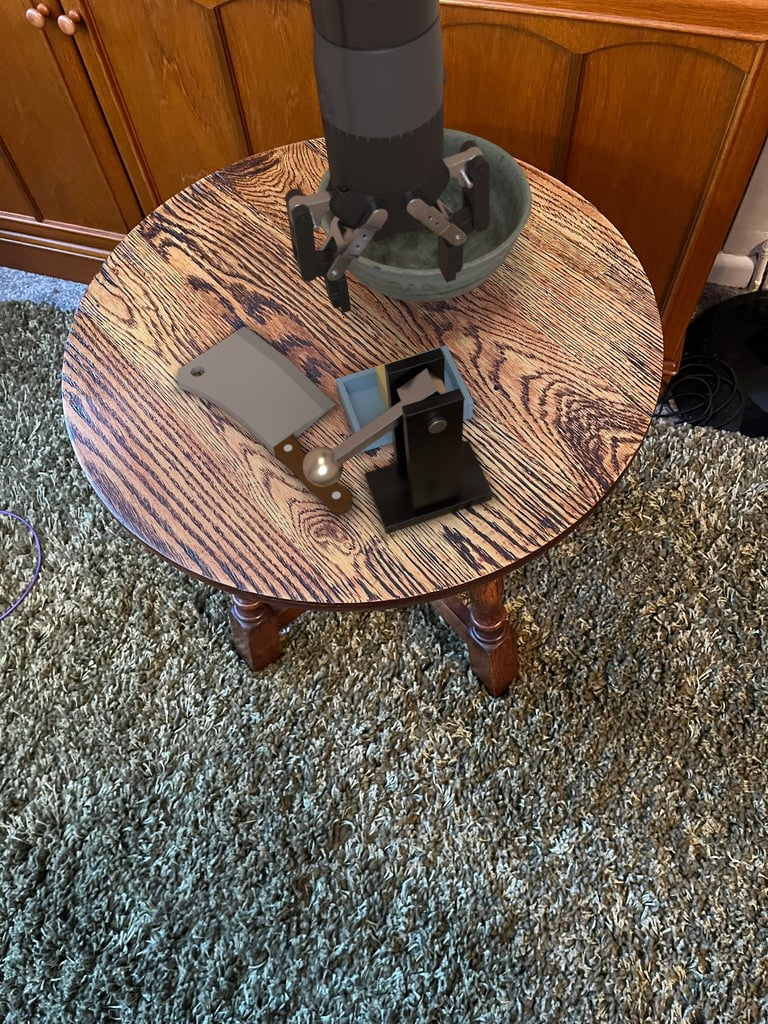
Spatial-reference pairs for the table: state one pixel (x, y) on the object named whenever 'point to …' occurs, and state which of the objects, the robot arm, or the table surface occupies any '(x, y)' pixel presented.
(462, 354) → the table surface
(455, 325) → the table surface
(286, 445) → the kitchen cleaver
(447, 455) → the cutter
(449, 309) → the table surface
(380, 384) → the butter pat
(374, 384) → the butter dish
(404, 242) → the bowl
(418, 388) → the cutter lever
